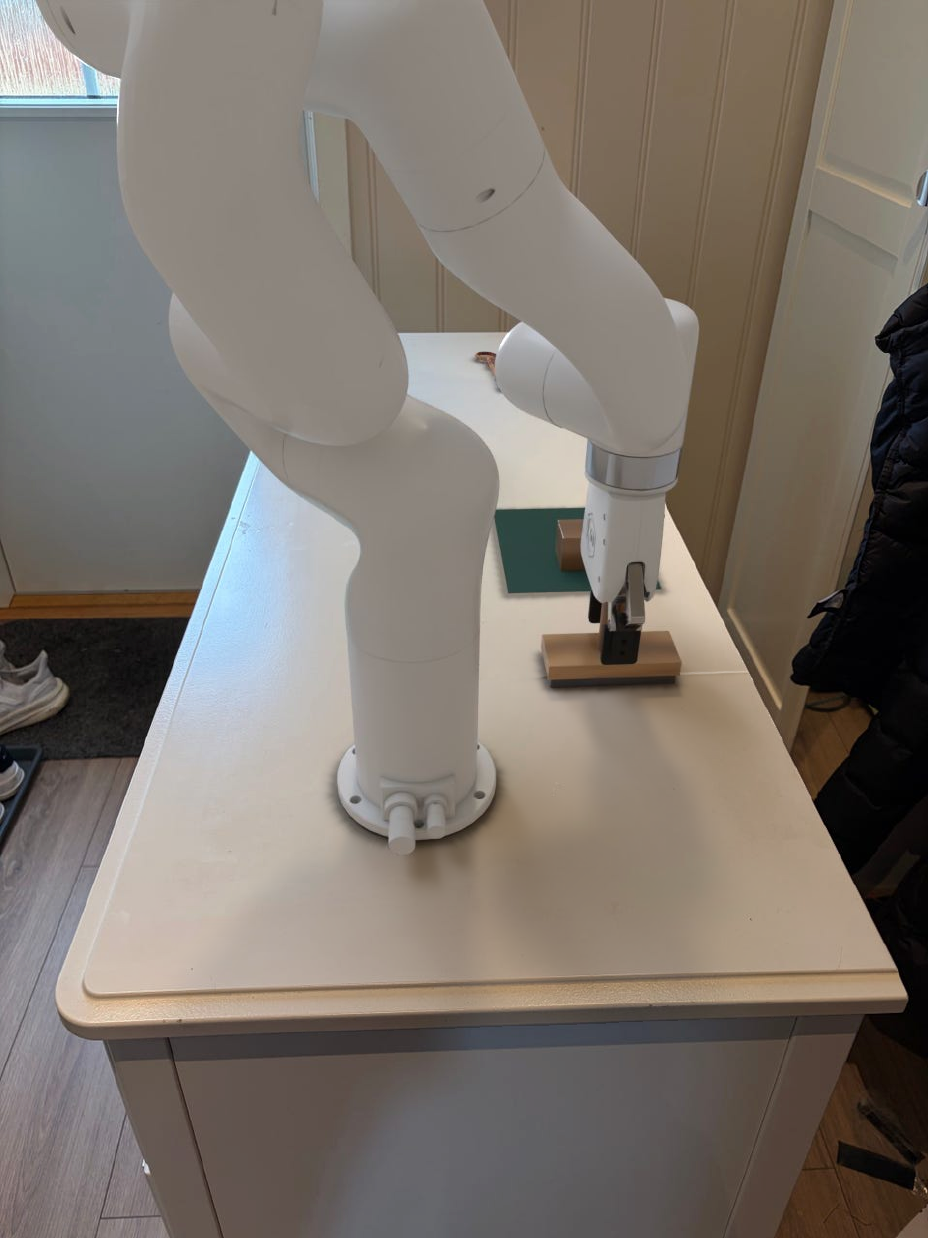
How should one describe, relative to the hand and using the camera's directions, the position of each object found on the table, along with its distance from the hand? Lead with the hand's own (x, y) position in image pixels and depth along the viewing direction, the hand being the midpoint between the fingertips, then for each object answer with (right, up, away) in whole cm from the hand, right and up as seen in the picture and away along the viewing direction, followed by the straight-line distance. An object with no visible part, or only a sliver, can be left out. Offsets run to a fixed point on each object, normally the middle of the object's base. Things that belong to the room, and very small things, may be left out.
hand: (611, 639), depth 89 cm
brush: (0, -3, +2) cm, 3 cm away
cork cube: (-1, +8, +17) cm, 19 cm away
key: (-8, +40, +64) cm, 76 cm away
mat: (-1, +10, +20) cm, 22 cm away
